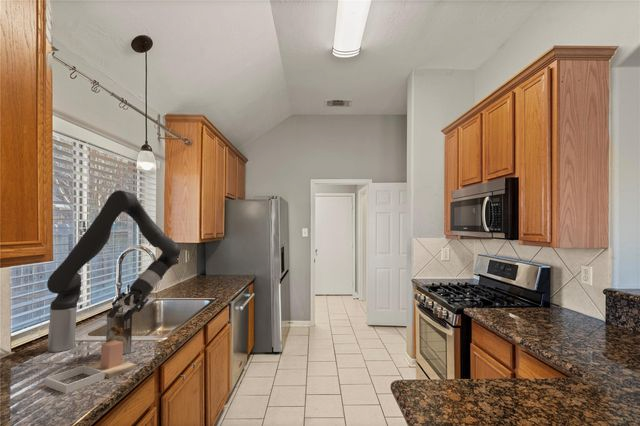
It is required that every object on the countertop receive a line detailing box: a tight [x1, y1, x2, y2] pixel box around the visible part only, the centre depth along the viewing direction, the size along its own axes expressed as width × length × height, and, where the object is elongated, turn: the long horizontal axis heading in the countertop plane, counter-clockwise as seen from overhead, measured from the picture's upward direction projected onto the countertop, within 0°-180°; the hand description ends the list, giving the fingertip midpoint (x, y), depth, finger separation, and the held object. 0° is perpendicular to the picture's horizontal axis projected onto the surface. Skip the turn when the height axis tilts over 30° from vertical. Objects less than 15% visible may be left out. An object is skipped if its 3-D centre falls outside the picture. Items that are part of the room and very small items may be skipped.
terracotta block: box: [99, 340, 124, 369], centre depth 126 cm, size 5×5×8 cm
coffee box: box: [105, 311, 133, 355], centre depth 142 cm, size 9×6×16 cm
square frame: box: [44, 364, 106, 394], centre depth 114 cm, size 12×12×2 cm
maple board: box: [87, 360, 137, 379], centre depth 125 cm, size 14×10×2 cm
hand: (116, 318), depth 127 cm, fingers open, 8 cm apart
